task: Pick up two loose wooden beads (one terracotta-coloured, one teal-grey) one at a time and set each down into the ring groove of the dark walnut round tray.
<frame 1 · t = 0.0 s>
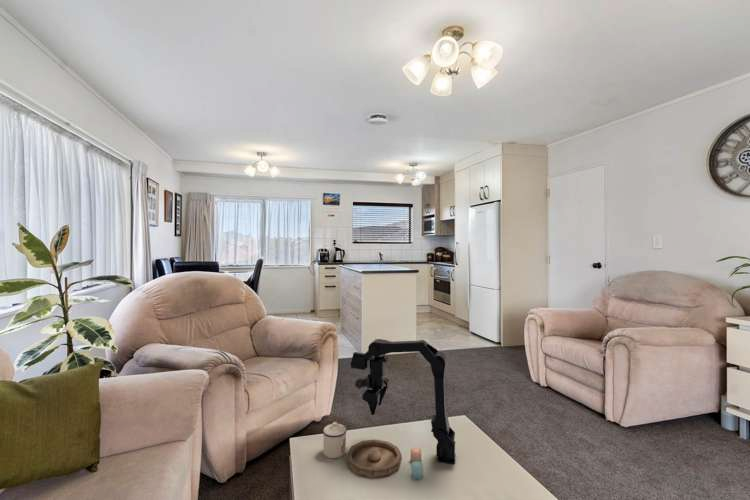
hand: (376, 409, 143), 15 cm above the table, fingers open, 9 cm apart
bead terracotta: (415, 460, 133), on the table
ring tray: (374, 460, 133), on the table
teacup with lid: (334, 450, 140), on the table
bead teal: (417, 475, 124), on the table
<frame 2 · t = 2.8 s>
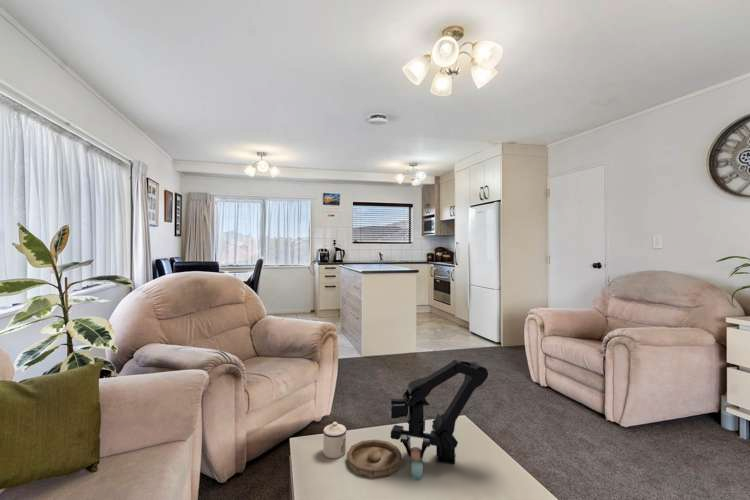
hand: (415, 457, 133), 1 cm above the table, fingers closed on bead terracotta, 4 cm apart
bead terracotta: (415, 460, 133), on the table, touching gripper
everything else where it was.
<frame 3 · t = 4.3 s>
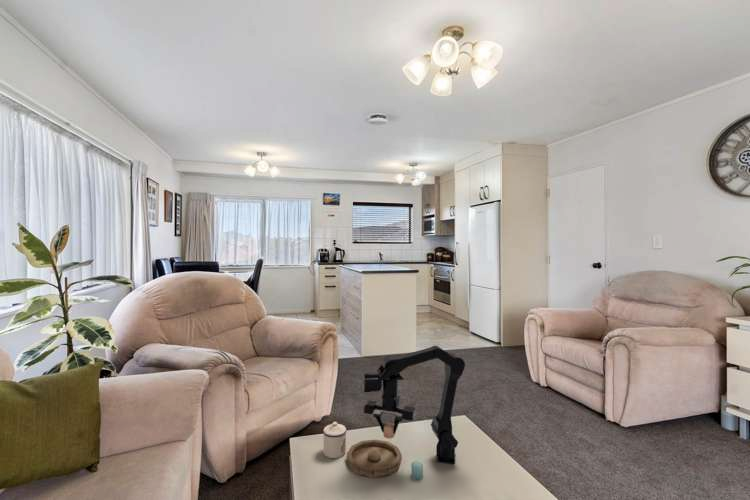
hand: (388, 432, 131), 11 cm above the table, fingers closed on bead terracotta, 4 cm apart
bead terracotta: (388, 435, 131), point 10 cm above the table, touching gripper
everything else where it was.
when the fingers open (3 cm above the table, at t = 6.0 s): bead terracotta drops 2 cm, resting on ring tray.
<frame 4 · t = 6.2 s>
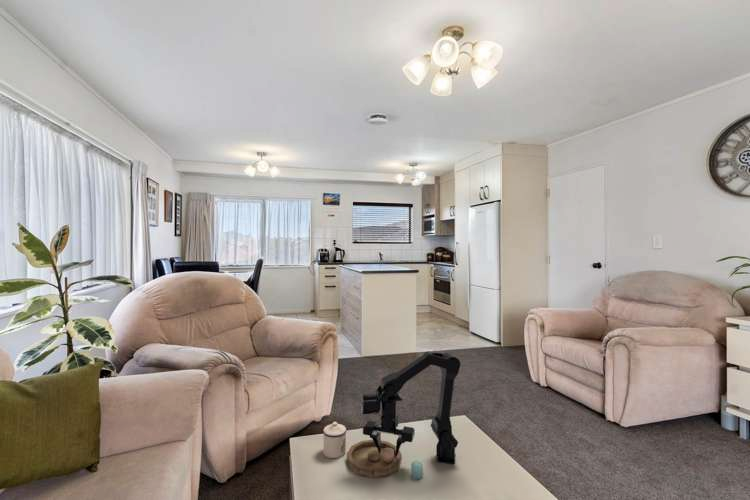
hand: (388, 454, 131), 3 cm above the table, fingers open, 6 cm apart
bead terracotta: (388, 461, 131), point 1 cm above the table, touching ring tray
everything else where it was.
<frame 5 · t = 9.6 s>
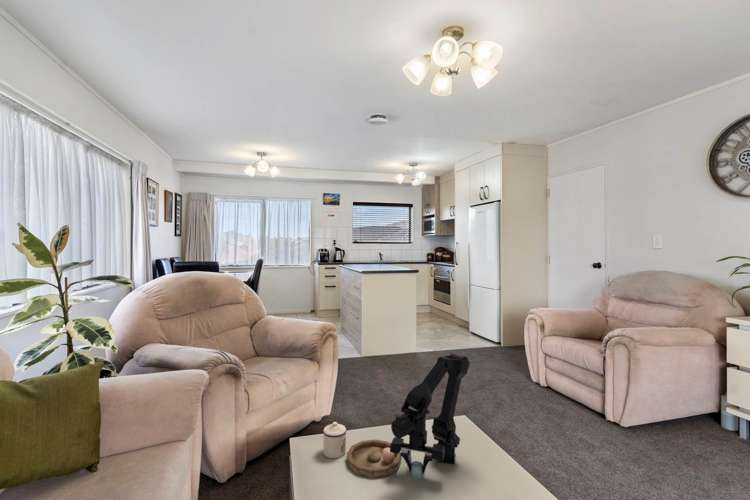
hand: (417, 472, 124), 1 cm above the table, fingers closed on bead teal, 4 cm apart
bead teal: (417, 475, 124), on the table, touching gripper
everything else where it was.
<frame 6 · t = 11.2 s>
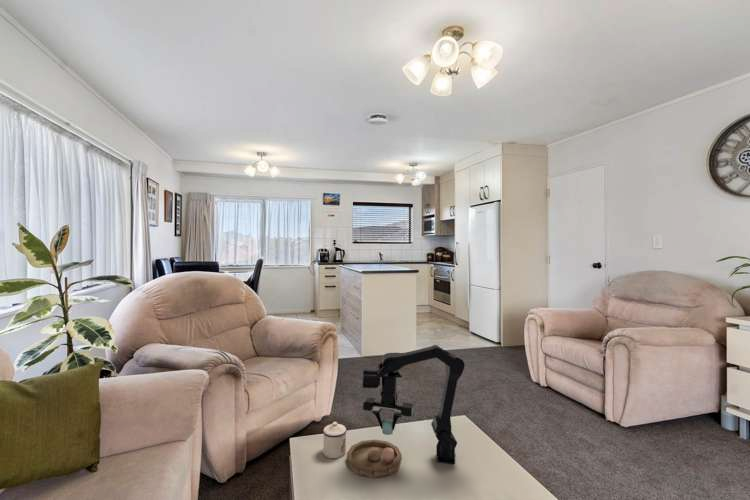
hand: (387, 429, 134), 11 cm above the table, fingers closed on bead teal, 4 cm apart
bead teal: (387, 432, 134), point 10 cm above the table, touching gripper
everything else where it was.
when the fingers open (3 cm above the table, at t = 13.2 s): bead teal drops 2 cm, resting on ring tray.
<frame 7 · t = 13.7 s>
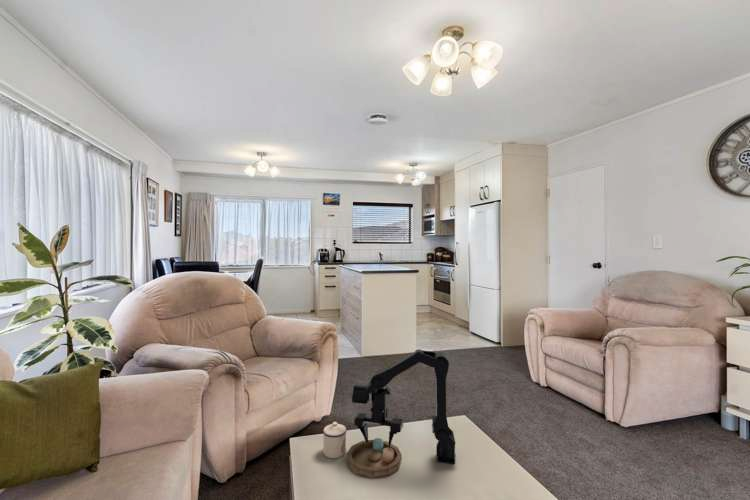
hand: (378, 444, 138), 3 cm above the table, fingers open, 9 cm apart
bead teal: (378, 451, 138), point 1 cm above the table, touching ring tray
everything else where it was.
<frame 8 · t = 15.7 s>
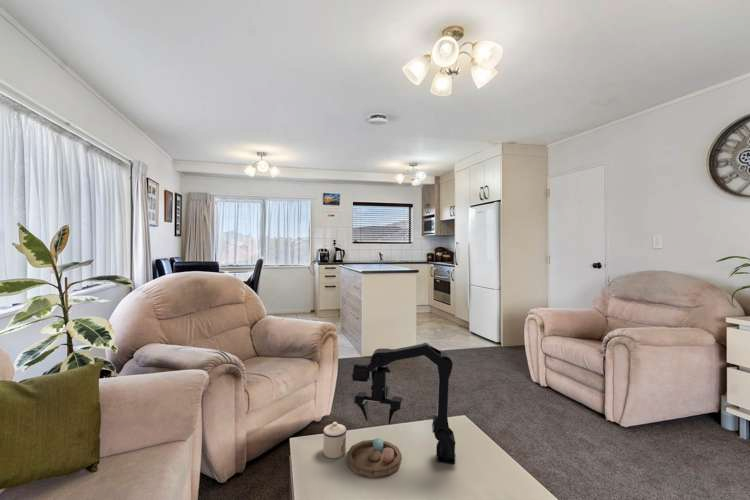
hand: (378, 422, 138), 12 cm above the table, fingers open, 9 cm apart
nothing on the table moved.
at the end: bead terracotta 0.0 cm from the target spot on the ring tray, point 0.8 cm above the ring tray's base; bead teal 0.1 cm from the target spot on the ring tray, point 0.8 cm above the ring tray's base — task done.
